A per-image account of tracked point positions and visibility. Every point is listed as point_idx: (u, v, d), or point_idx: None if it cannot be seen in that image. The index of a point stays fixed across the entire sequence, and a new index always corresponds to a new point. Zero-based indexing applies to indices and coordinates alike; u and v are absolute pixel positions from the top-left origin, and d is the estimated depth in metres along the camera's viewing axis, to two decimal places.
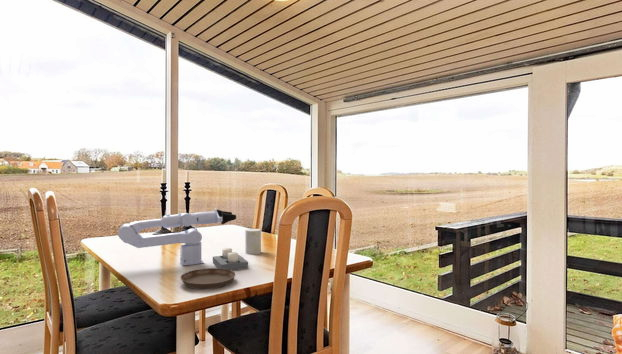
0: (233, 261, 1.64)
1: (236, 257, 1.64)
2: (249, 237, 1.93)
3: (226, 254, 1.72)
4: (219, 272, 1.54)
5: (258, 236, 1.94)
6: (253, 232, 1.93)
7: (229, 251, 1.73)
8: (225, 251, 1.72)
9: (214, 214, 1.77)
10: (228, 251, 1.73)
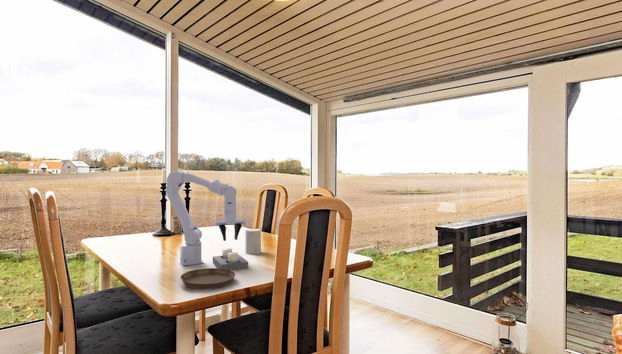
0: (233, 261, 1.64)
1: (236, 257, 1.64)
2: (249, 237, 1.93)
3: (226, 254, 1.72)
4: (219, 272, 1.54)
5: (258, 236, 1.94)
6: (253, 232, 1.93)
7: (229, 251, 1.73)
8: (225, 251, 1.72)
9: (226, 220, 1.74)
10: (228, 251, 1.73)
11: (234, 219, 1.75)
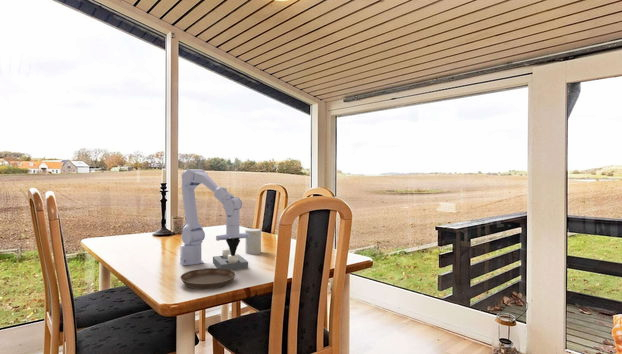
0: None
1: (236, 259, 1.64)
2: (249, 237, 1.93)
3: (226, 254, 1.72)
4: (219, 272, 1.54)
5: (258, 236, 1.94)
6: (253, 232, 1.93)
7: (229, 251, 1.73)
8: (225, 251, 1.72)
9: (228, 234, 1.63)
10: (228, 251, 1.73)
11: (237, 233, 1.64)
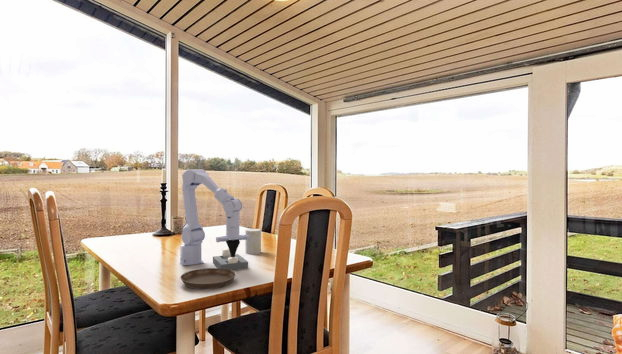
0: None
1: (236, 262, 1.65)
2: (249, 237, 1.93)
3: (226, 254, 1.72)
4: (219, 272, 1.54)
5: (258, 236, 1.94)
6: (253, 232, 1.93)
7: (229, 251, 1.73)
8: (225, 251, 1.72)
9: (228, 235, 1.63)
10: (228, 251, 1.73)
11: (237, 235, 1.64)
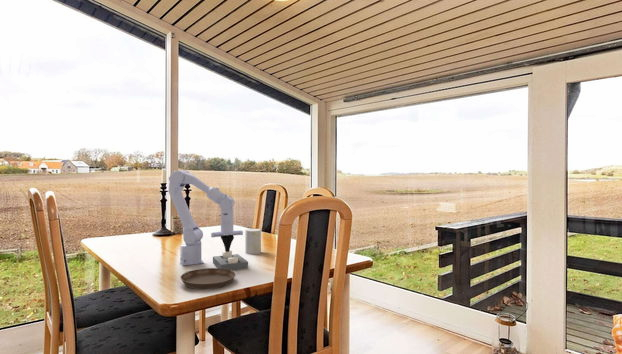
0: None
1: (236, 262, 1.65)
2: (249, 237, 1.93)
3: (226, 256, 1.72)
4: (219, 272, 1.54)
5: (258, 236, 1.94)
6: (253, 232, 1.93)
7: (229, 253, 1.73)
8: (225, 253, 1.72)
9: (223, 231, 1.72)
10: (228, 253, 1.73)
11: (231, 230, 1.73)
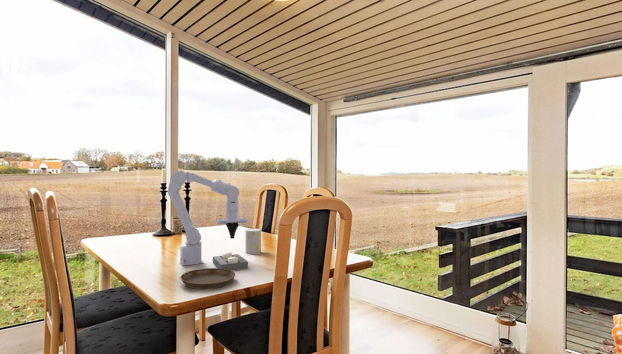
0: None
1: (236, 262, 1.65)
2: (249, 237, 1.93)
3: None
4: (219, 272, 1.54)
5: (258, 236, 1.94)
6: (253, 232, 1.93)
7: (229, 255, 1.73)
8: (225, 255, 1.72)
9: (228, 218, 1.79)
10: (228, 255, 1.73)
11: (236, 218, 1.80)
